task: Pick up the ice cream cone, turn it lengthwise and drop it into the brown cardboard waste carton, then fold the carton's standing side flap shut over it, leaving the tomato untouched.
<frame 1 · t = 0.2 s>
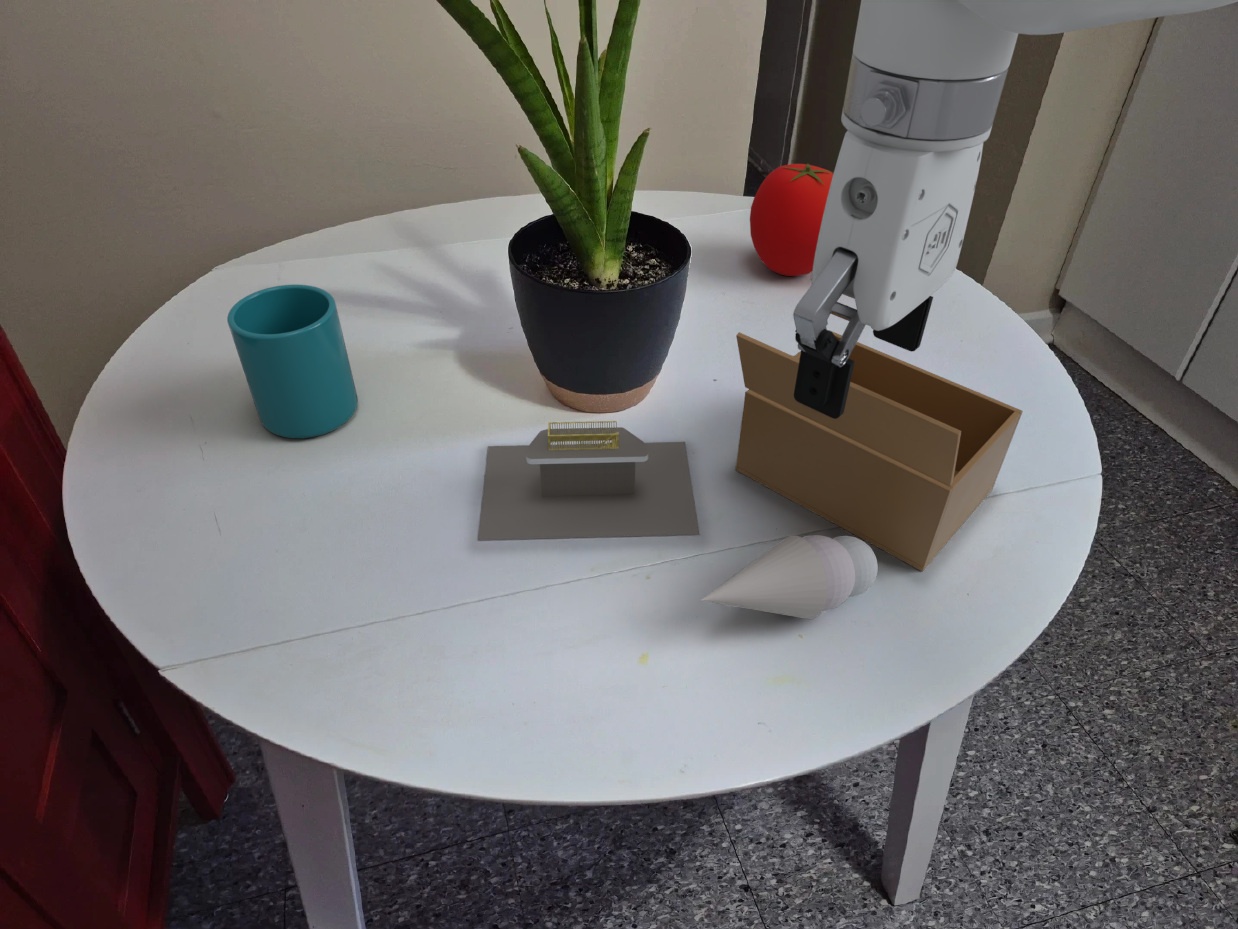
hand: (858, 373, 55), 19 cm above the table, tool pointing down, fingers open, 9 cm apart
carton: (862, 479, 76), on the table
tomato: (789, 270, 105), on the table
cup: (314, 404, 84), on the table
flap: (841, 406, 64), point 12 cm above the table, hinge at 110.0°
ice cream cone: (784, 611, 65), on the table
platform: (588, 489, 75), on the table
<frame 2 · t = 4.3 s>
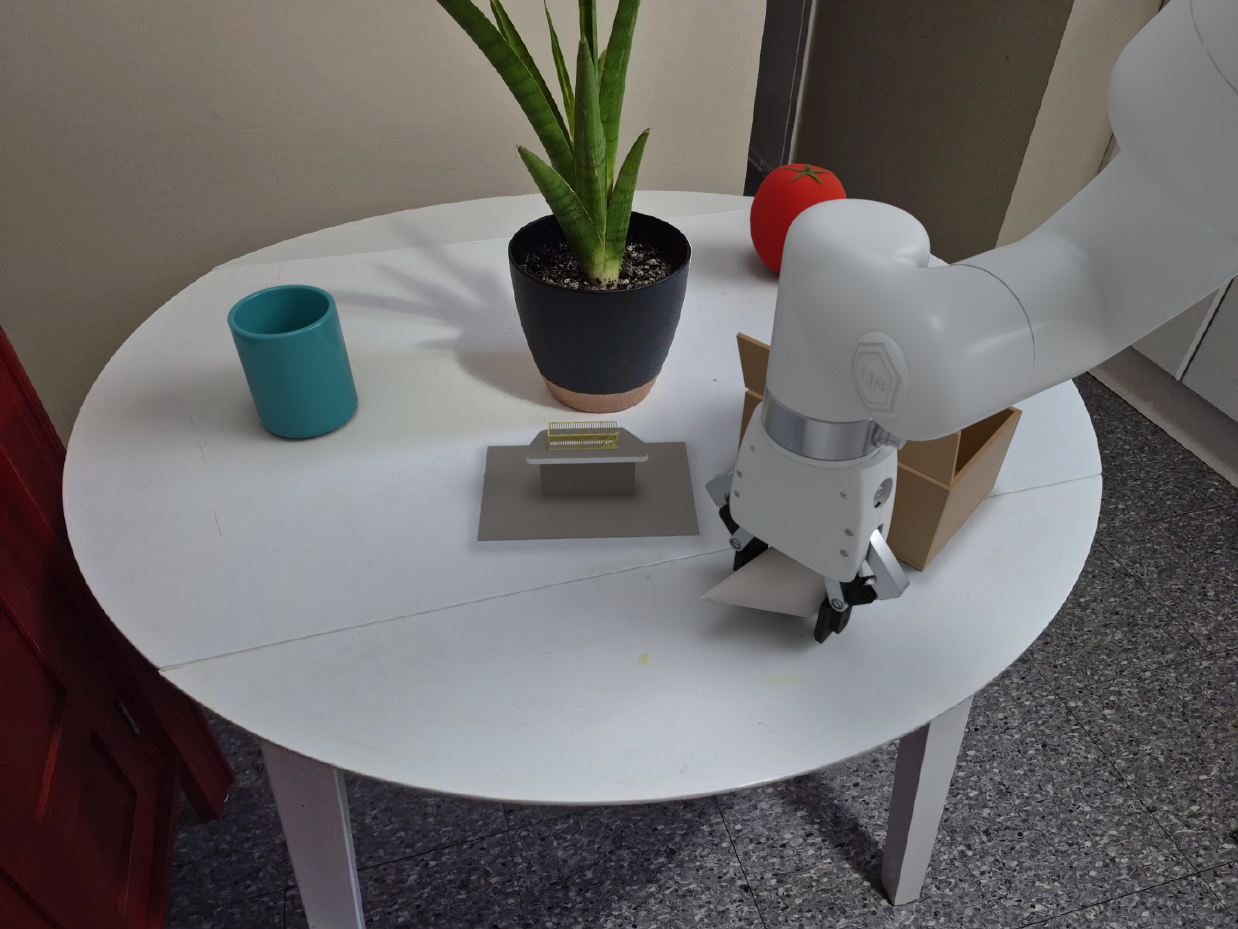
hand: (787, 604, 64), 1 cm above the table, tool pointing down, fingers closed on ice cream cone, 6 cm apart
ice cream cone: (782, 609, 65), on the table, touching gripper
everything else where it was.
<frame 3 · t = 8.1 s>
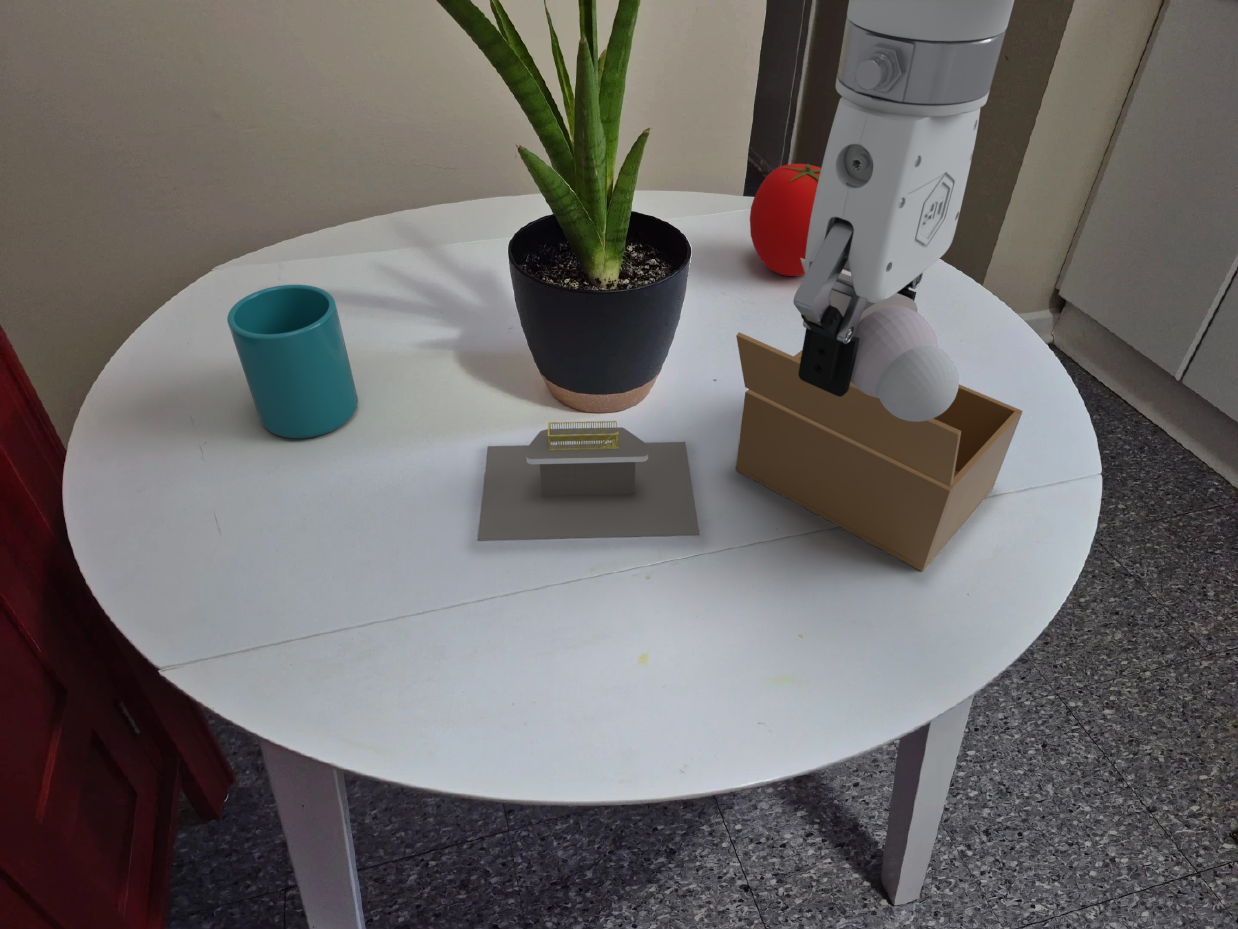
hand: (851, 359, 55), 20 cm above the table, tool pointing down, fingers closed on ice cream cone, 6 cm apart
ice cream cone: (854, 373, 56), point 19 cm above the table, touching gripper
everything else where it was.
when the fingers open (7 cm above the table, at t = 12.2 s): ice cream cone drops 5 cm, resting on carton.
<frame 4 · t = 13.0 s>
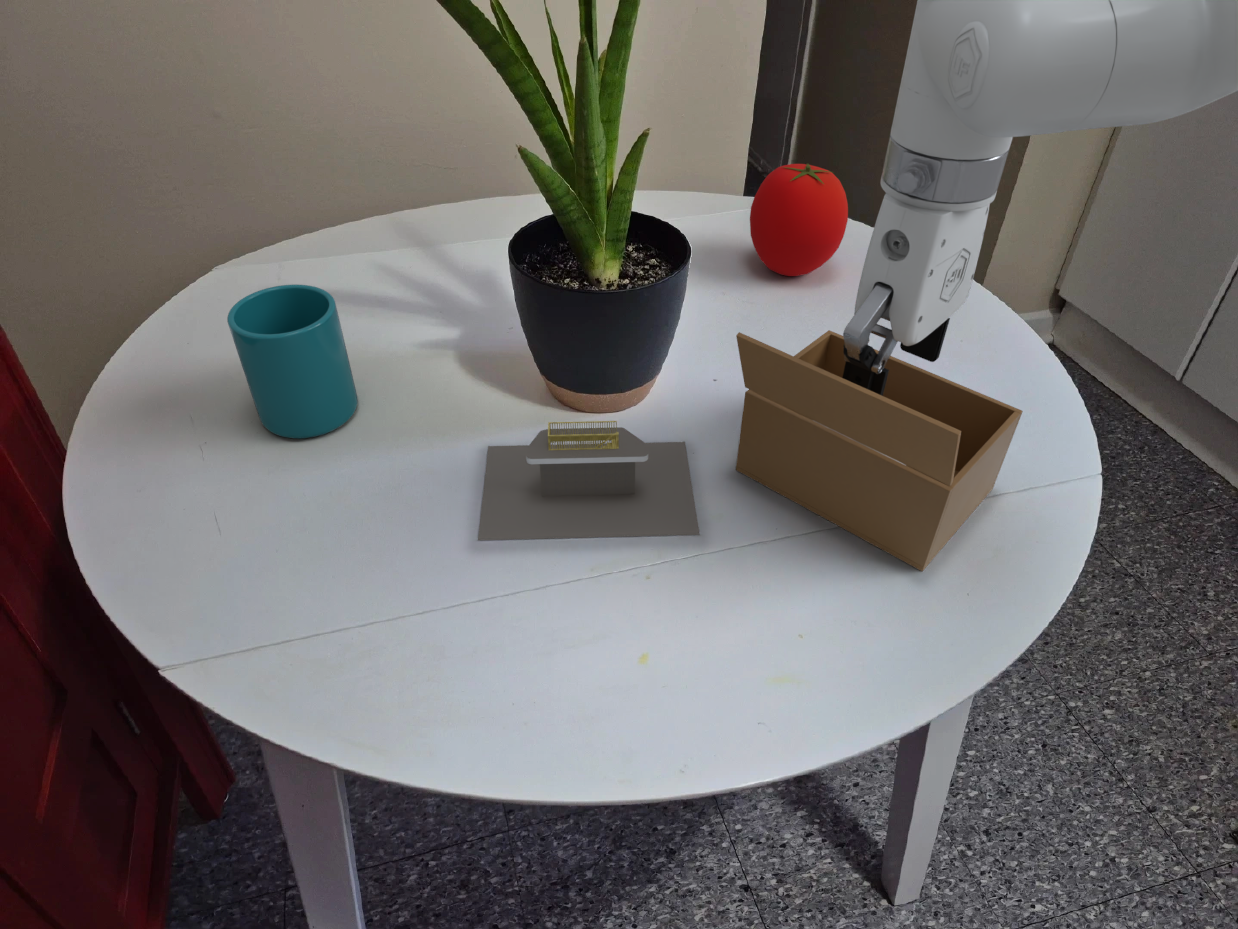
hand: (889, 379, 69), 11 cm above the table, tool pointing down, fingers open, 9 cm apart
ice cream cone: (868, 467, 75), point 2 cm above the table, touching carton
everything else where it was.
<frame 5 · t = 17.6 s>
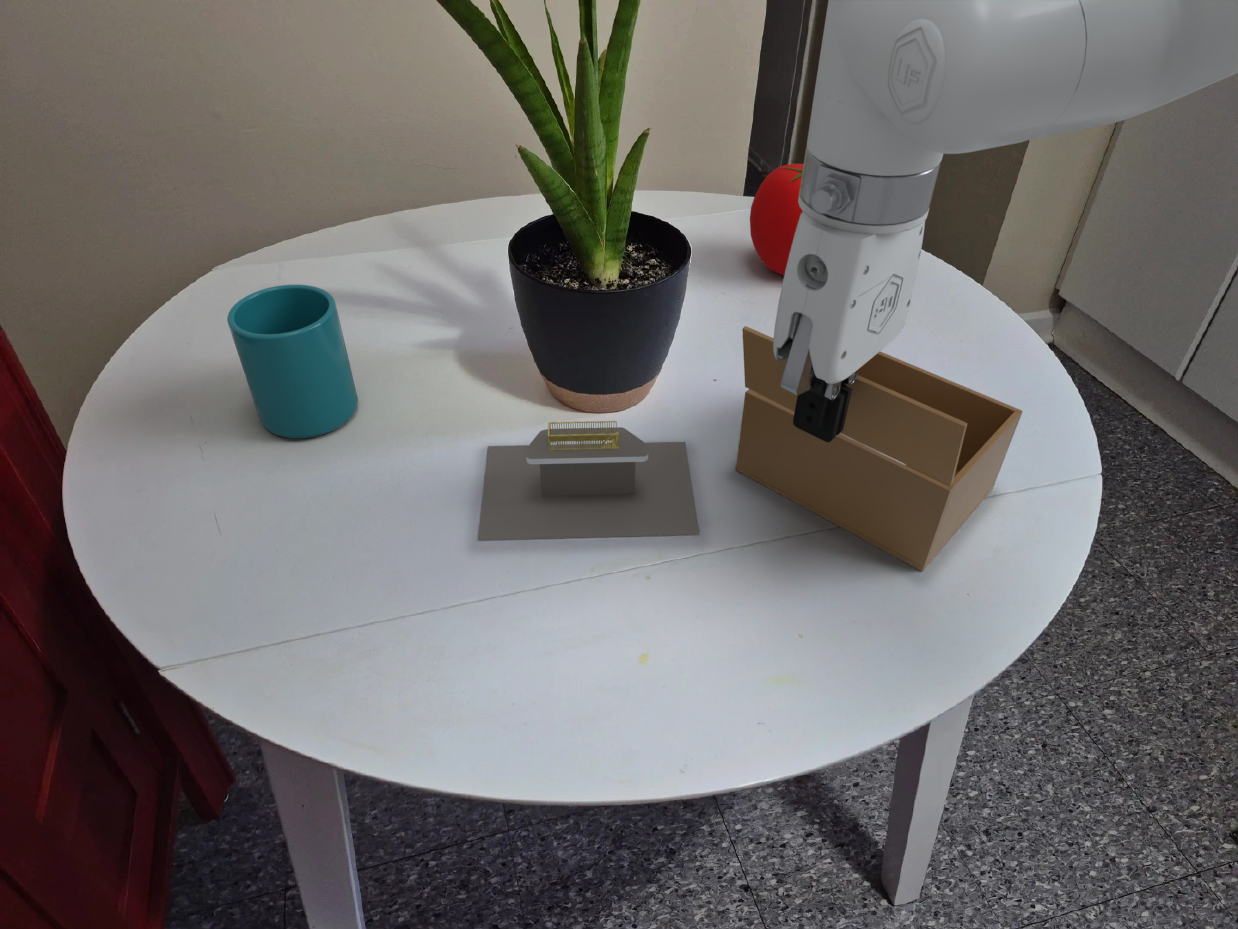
hand: (817, 429, 62), 12 cm above the table, tool pointing down, fingers closed
flap: (844, 403, 64), point 12 cm above the table, hinge at 102.8°, touching gripper
everything else where it was.
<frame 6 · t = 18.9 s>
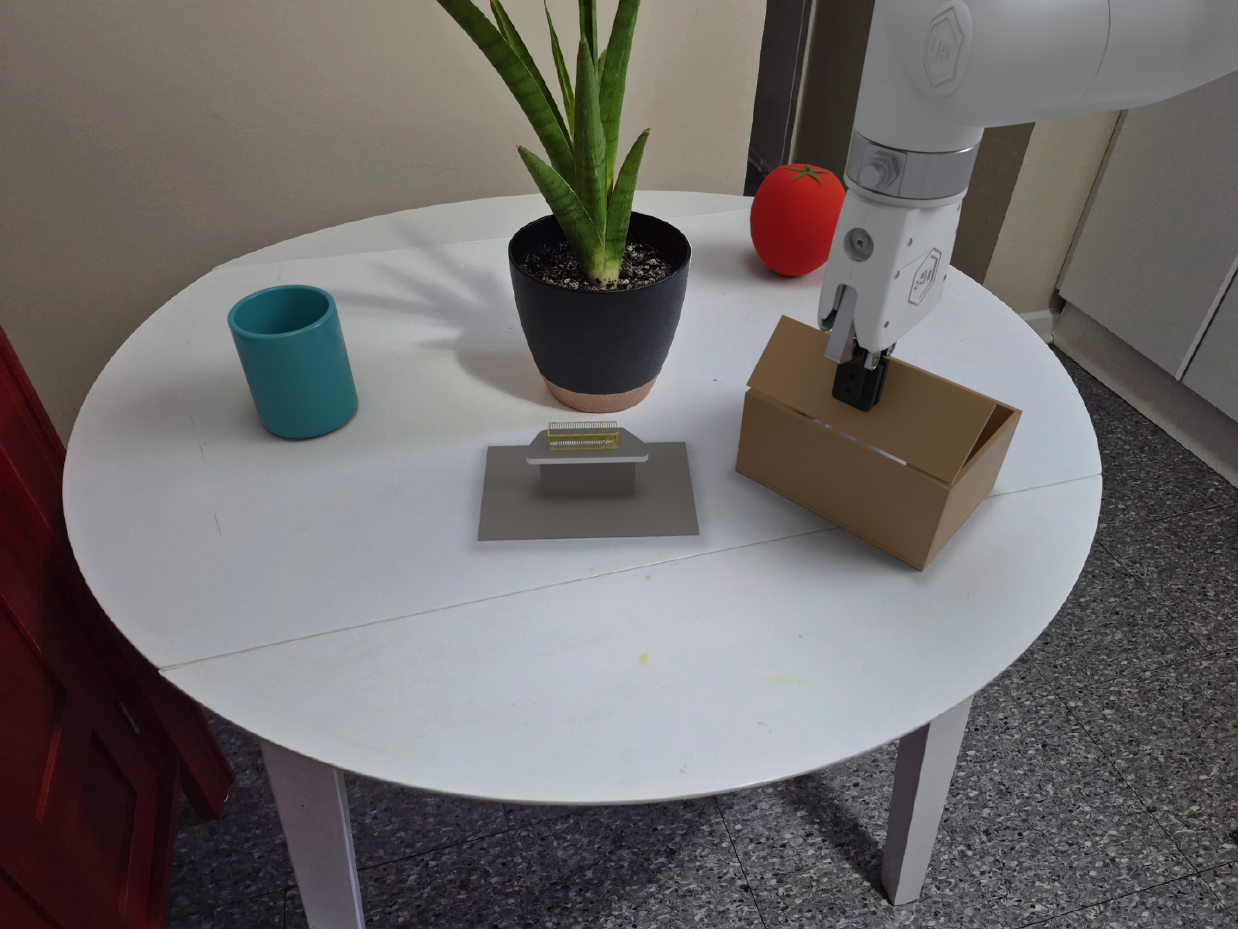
hand: (854, 400, 65), 12 cm above the table, tool pointing down, fingers closed
flap: (862, 394, 66), point 12 cm above the table, hinge at 48.5°
everything else where it was.
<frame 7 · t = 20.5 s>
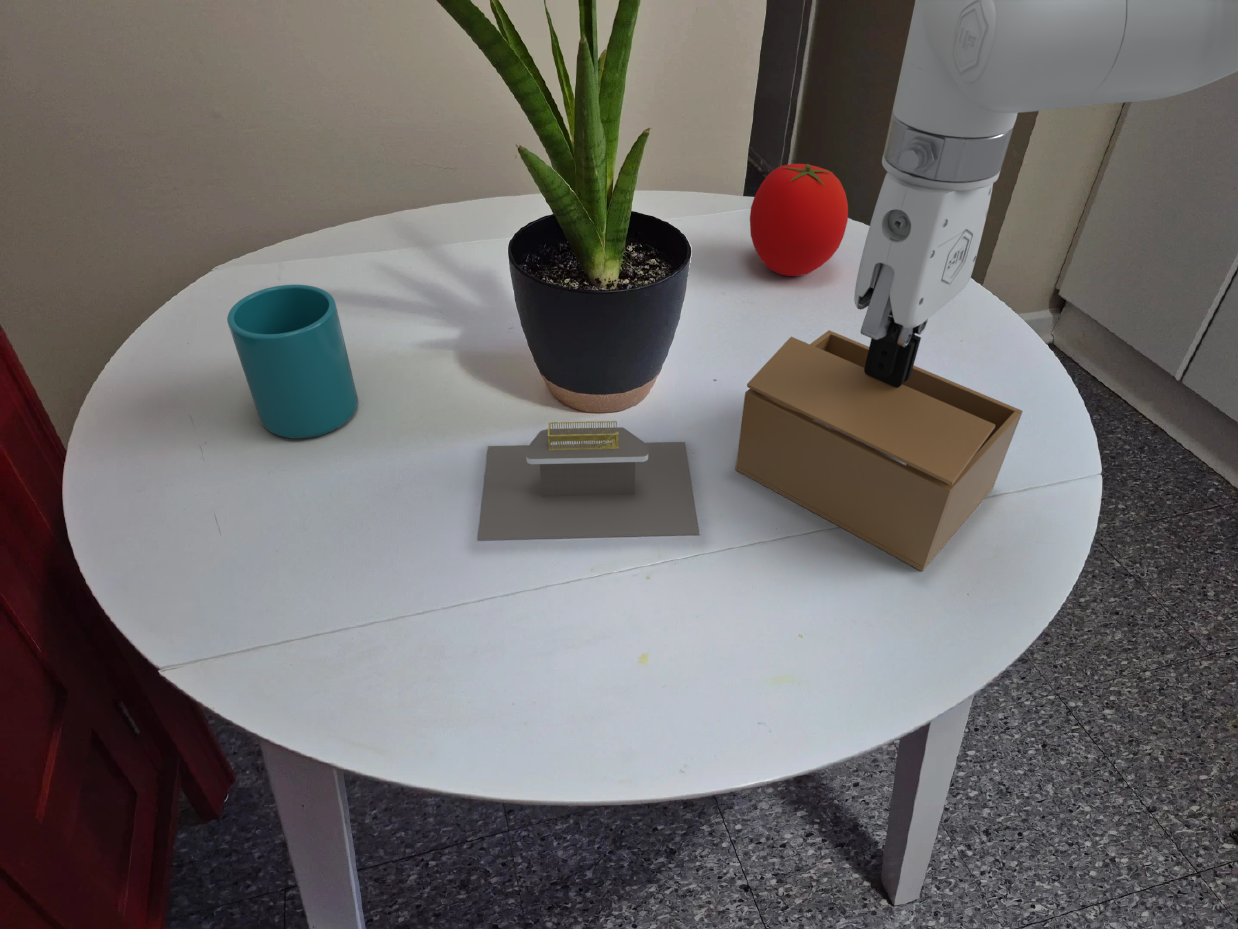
hand: (886, 376, 69), 11 cm above the table, tool pointing down, fingers closed
flap: (864, 404, 68), point 10 cm above the table, hinge at 15.7°
everything else where it was.
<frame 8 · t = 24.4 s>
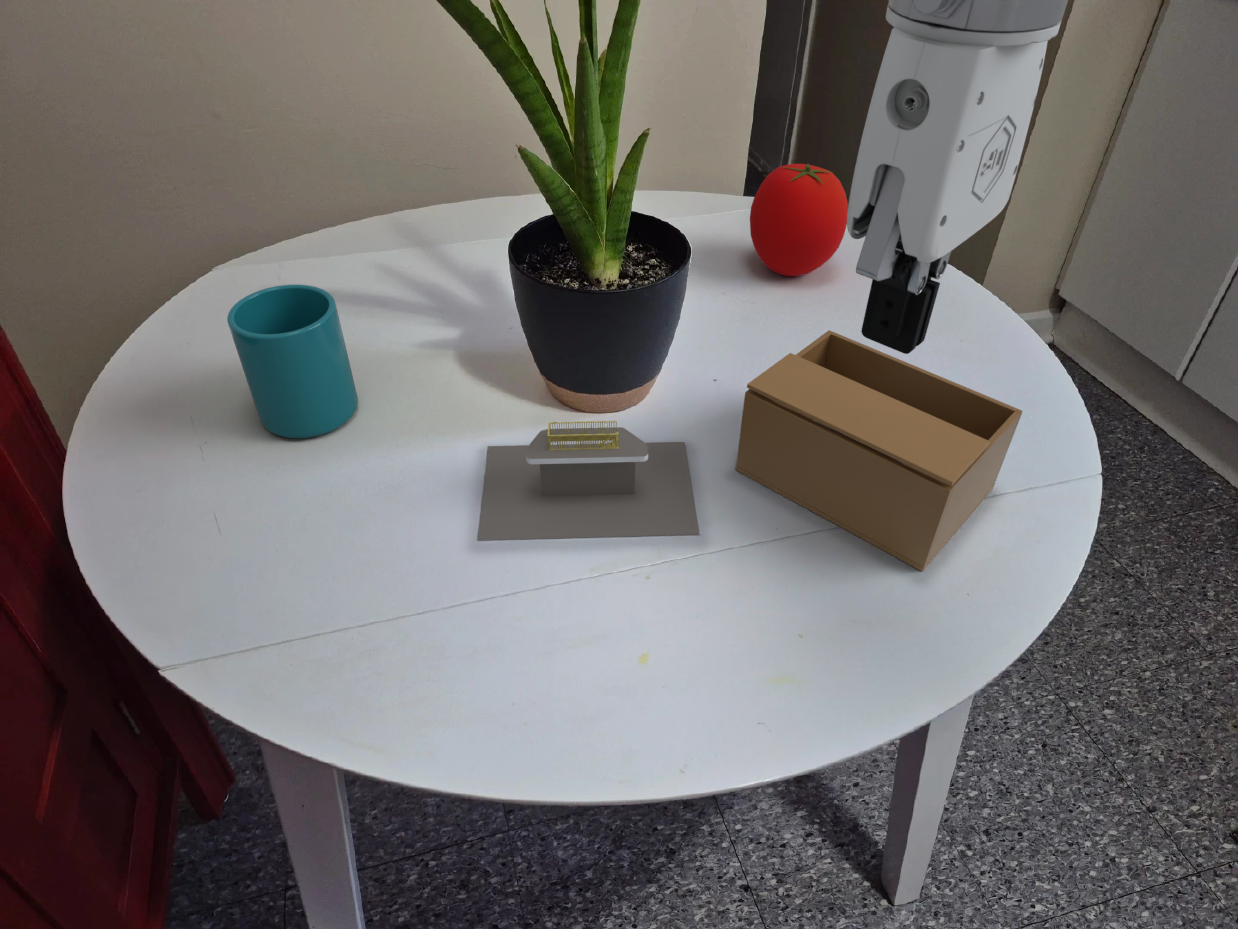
hand: (891, 339, 50), 23 cm above the table, tool pointing down, fingers closed
flap: (863, 413, 68), point 9 cm above the table, hinge at -0.3°
everything else where it was.
at the end: ice cream cone inside the target area in the carton (0.3 cm from its centre), point 1.6 cm above the carton's base; flap at +0° (first picture: +110°); tomato moved 0.2 cm from its start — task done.
